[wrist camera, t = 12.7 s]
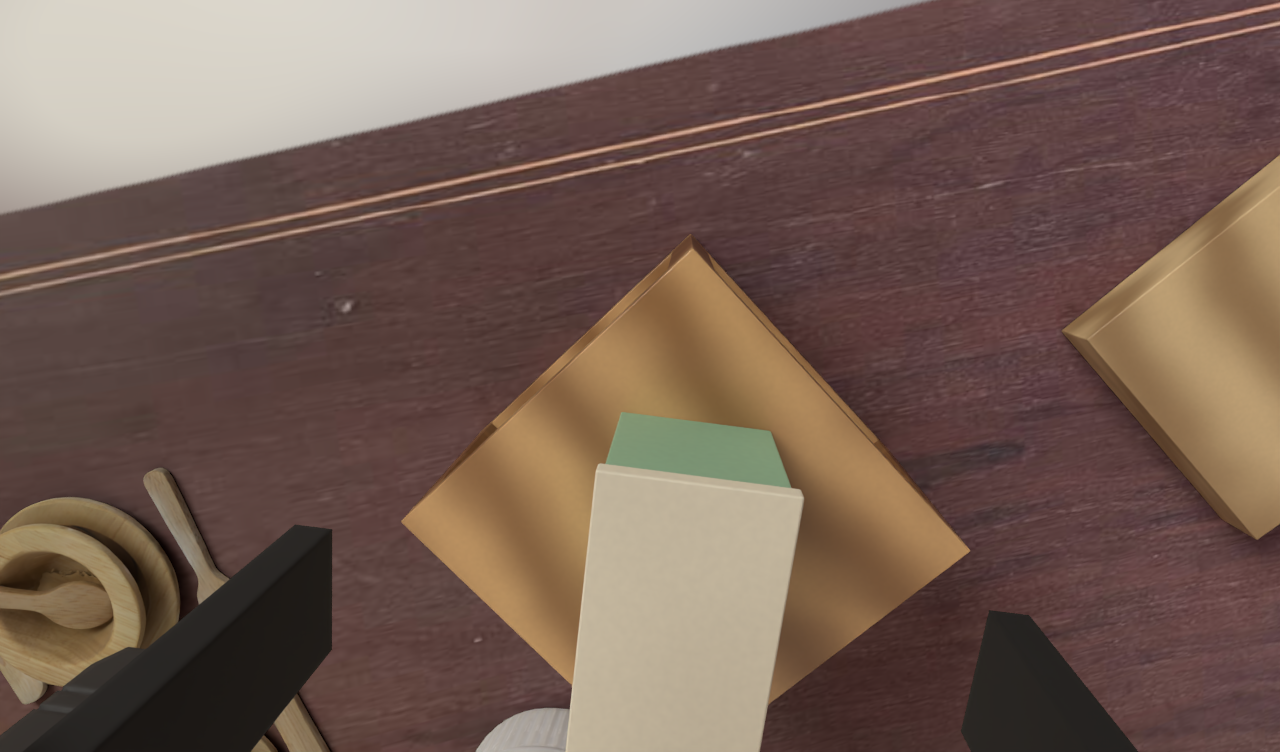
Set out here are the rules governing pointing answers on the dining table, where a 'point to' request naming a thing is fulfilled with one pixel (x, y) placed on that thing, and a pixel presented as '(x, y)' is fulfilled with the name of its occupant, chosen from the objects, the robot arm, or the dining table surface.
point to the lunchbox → (682, 589)
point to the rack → (696, 391)
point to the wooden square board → (1205, 352)
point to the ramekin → (530, 732)
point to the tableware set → (102, 593)
